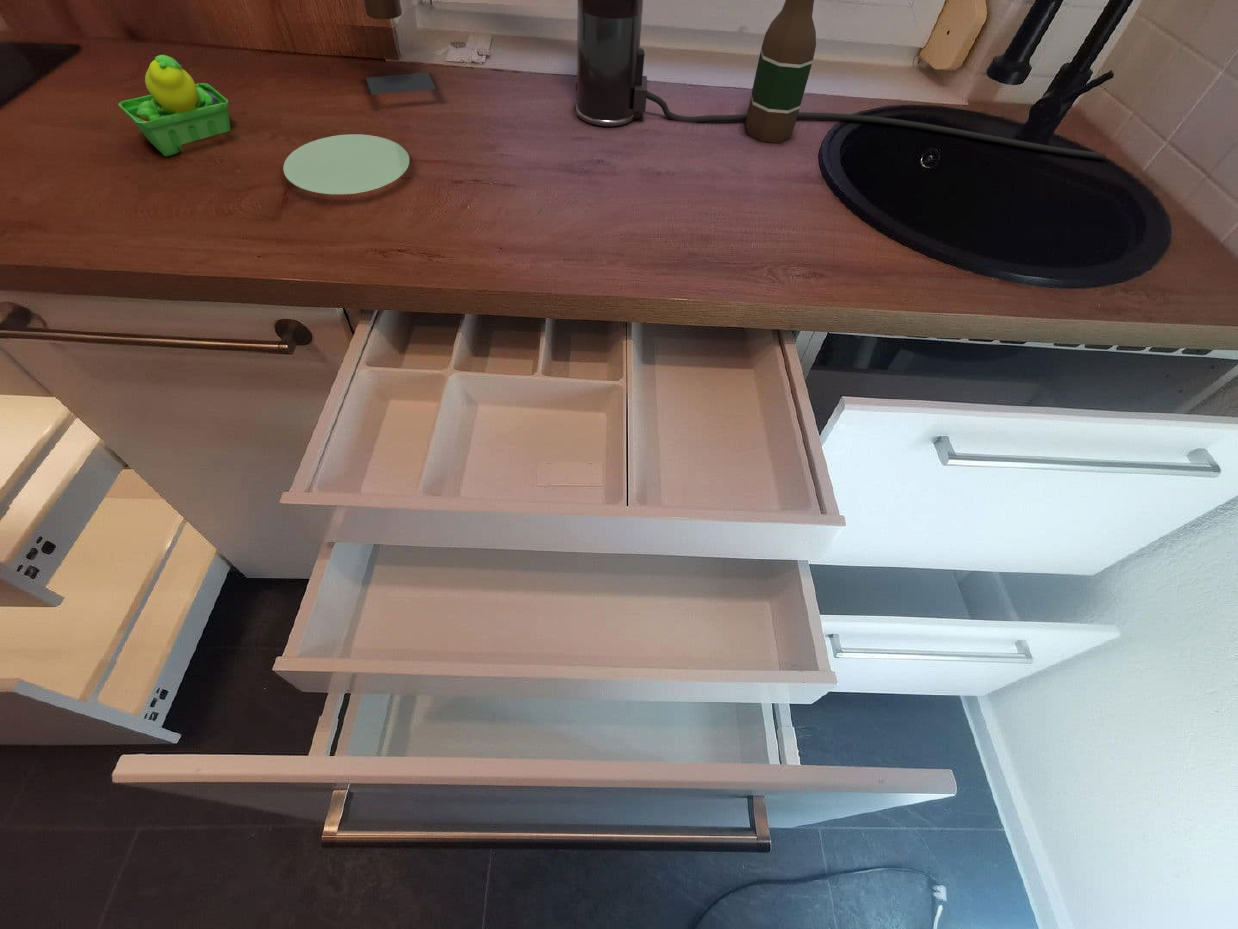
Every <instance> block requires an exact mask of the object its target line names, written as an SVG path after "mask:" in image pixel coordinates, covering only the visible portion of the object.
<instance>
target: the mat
mask: <svg viewBox="0 0 1238 929" xmlns="http://www.w3.org/2000/svg"><path fill="white" fill-rule="evenodd" d="M365 81H366V85H367V87H368V89H369V93H370V95H371V96H375V95H386V94H387V95H388V94H399V93H407V92H408V93H409V92H418V91H419V92H420V91H429V90H436V89H437V88H436V86H435V84H434V82H433V80H432V78H431V76H430V74H429V72H419V73H406V74H395V75H381V76H371V77H370V76H369V77H365Z"/></svg>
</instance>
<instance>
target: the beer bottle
mask: <svg viewBox="0 0 1238 929" xmlns="http://www.w3.org/2000/svg"><path fill="white" fill-rule="evenodd" d="M814 4H815V0H785V1H784V2H783V6H782V8H781V10H780V11H779V13H778V14H777V15H776V16H775V17H774V19H772V21H771V23H770V24H769V26H768V28H767V30H766V32H765V34H764V37H763V41H762V44H761V48H760V51H759V52H760V53H759V58H758V61H757V65H756V70H755V74H754V75H755V76H754V78H753V79H754V80H753V85H752V90H751V94H750V98H749V103H748V107H747V113H746V114H747V118H746V120H745V129H746V134H747V136H749V137H751V138H753V139H755V140H756V141H759V142H763V143H774V144H780V143H783V142H784V141H787V140H788V139H790V138H791V137H792V135H793V133H794V129H795V126H796V122H797V120H798V119H797V116H798V112H800V109H801V105H802V101H803V97H804V94H805V91H806V87H807V83H808V80H809V76H810V72H811V69H812V65H813V62H814V57H815V53H816V47H817V30H816V27H815V23H814V19H813V12H814Z"/></svg>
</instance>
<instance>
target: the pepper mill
mask: <svg viewBox="0 0 1238 929" xmlns="http://www.w3.org/2000/svg"><path fill="white" fill-rule="evenodd" d="M362 1H363V6H364V10H365V14H366V16H368V17H369V18H372V19H375V20H393V19H396V18H399V17H400V16H402V14H403V11H402V6H401V4H402V3H401V0H362Z"/></svg>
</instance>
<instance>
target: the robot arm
mask: <svg viewBox="0 0 1238 929" xmlns="http://www.w3.org/2000/svg"><path fill="white" fill-rule="evenodd" d="M643 8H644V0H577V19H576V20H577V23H576V24H577V25H576V27H577V30H576V31H577V33H576V34H577V35H576V37H577V38H576V57H577V58H576V83H575V92H576V105H575V114H576V115H577V117H578V118H579V119H581V120H582V121H584V122H585V123H588V124H591V125H594V126H600V127H618V126H624V125H626V124H629V123H631V122H632V121H633V120H637V119H640V115H641V114H640V113H645V112H646V110H647V100H650V101H651V102H654V103H656V104H657V105H658V106H660V108H661V109H662V113H663V114H664V116H665V117H666V118H668V119H670V120H671V121H674V122H683V123H691V124H699V123H700V124H701V123H715V122H717V123H721V122H722V123H728V122H744V121H745V122H746V118H747V113H744V114H743V113H741V114H711V115H699V116H682V115H678V114H676V113H674V112H672V111H670V109H669V107H668V104H667V102H666V101H665V100H664V99H663V98H662V97H660V96H658V95H657V94H654V93H652V92H650V91H648V76H647V75H644V65H645V50H644V48H643V47H642V46H641V37H642V36H641V35H642V22H643ZM797 120H834V121H846V122H847V121H848V122H860V123H870V124H879V125H887V126H888V125H889V126H896V127H903V128H910V129H917V130H923V131H928V132H933V133H934V132H935V133H940V134H946V135H950V136H957V137H961V138H967V139H973V140H979V141H983V142H988V143H994V144H1000V145H1005V146H1009V147H1015V148H1021V149H1027V150H1031V151H1038V152H1043V153H1050V154H1056V155H1062V156H1063V155H1064V156H1070V157H1078V158H1084V159H1092V160H1098V161H1099V160H1100V161H1104V160H1105V158H1106V157H1107V153H1103V152H1098V151H1097V152H1095V151H1087V150H1081V149H1073V148H1066V147H1060V146H1059V147H1058V146H1052V145H1046V144H1042V143H1036V142H1035V143H1034V142H1029V141H1024V140H1019V139H1013V138H1007V137H1003V136H996V135H991V134H986V133H980V132H976V131H970V130H965V129H959V128H955V127H954V128H953V127H947V126H944V125H943V126H942V125H936V124H930V123H924V122H919V121H912V120H904V119H896V118H890V117H882V116H875V115H874V116H873V115H864V114H862V115H861V114H851V113H850V114H849V113H838V112H837V113H836V112H835V113H834V112H805V111H803V112H802V111H801V112H800V111H799V112H798V116H797Z"/></svg>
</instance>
